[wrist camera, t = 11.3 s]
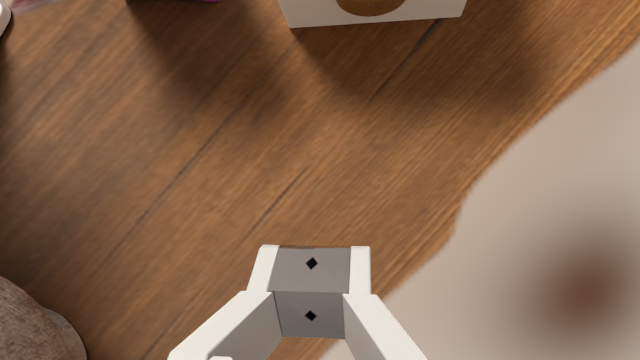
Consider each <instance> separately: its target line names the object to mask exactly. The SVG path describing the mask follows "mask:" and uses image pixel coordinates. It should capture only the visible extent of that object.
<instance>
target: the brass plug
mask: <svg viewBox="0 0 640 360" xmlns="http://www.w3.org/2000/svg"><path fill="white" fill-rule="evenodd" d="M336 2H337V4H338V5H339V7H340V8H341V9H343V10H344V11H346V12H348V13H350V14H353V15H357V16H364V17H372V16H379V15H383V14H387V13H389V12H392V11H394V10H396V9H397V8H399V7H400V6H401V5H402V4H403V3H404V2H405V0H336Z"/></svg>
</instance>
